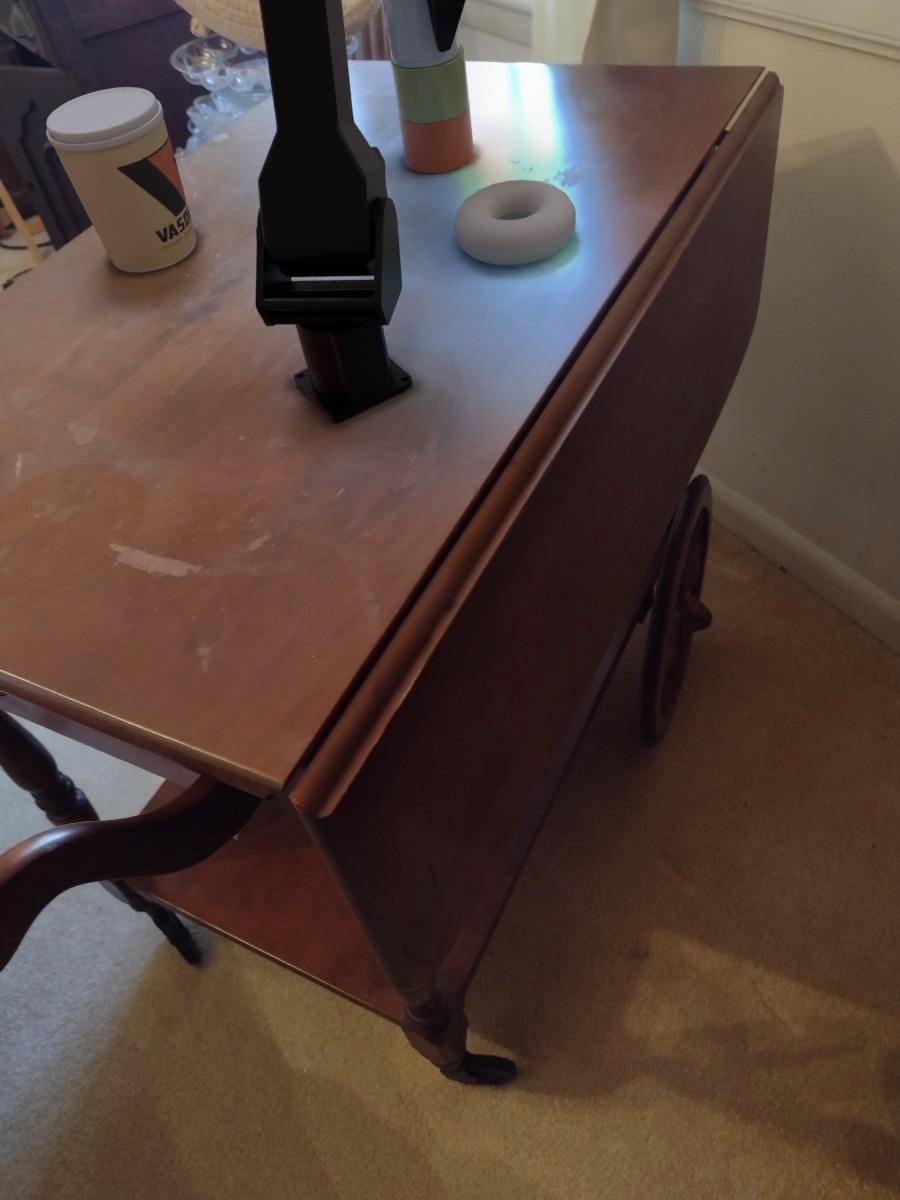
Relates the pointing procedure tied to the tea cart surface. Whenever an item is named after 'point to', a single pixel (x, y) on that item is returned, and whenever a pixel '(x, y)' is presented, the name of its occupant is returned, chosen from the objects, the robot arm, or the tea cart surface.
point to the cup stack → (434, 115)
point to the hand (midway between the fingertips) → (425, 42)
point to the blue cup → (414, 35)
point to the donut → (514, 222)
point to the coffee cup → (125, 176)
